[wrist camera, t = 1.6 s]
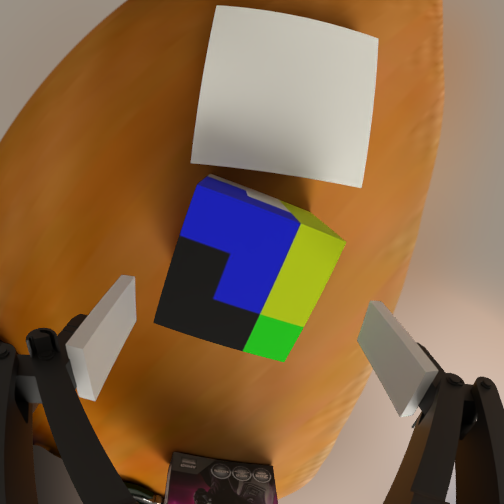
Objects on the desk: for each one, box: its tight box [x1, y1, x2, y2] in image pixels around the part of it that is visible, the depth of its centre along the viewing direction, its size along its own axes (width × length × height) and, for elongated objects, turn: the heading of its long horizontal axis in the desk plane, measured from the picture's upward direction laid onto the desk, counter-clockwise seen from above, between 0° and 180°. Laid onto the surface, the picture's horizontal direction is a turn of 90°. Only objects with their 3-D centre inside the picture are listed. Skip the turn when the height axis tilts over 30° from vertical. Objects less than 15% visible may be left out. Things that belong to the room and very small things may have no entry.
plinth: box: [191, 5, 378, 188], centre depth 23 cm, size 14×14×4 cm
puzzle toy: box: [153, 174, 346, 362], centre depth 24 cm, size 10×10×10 cm
